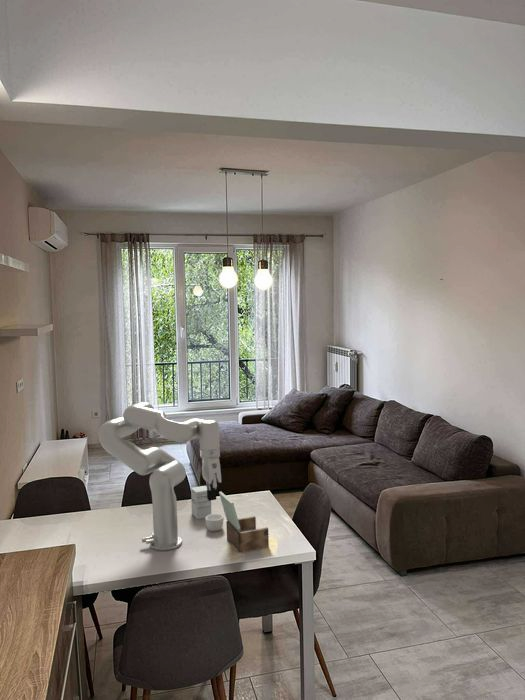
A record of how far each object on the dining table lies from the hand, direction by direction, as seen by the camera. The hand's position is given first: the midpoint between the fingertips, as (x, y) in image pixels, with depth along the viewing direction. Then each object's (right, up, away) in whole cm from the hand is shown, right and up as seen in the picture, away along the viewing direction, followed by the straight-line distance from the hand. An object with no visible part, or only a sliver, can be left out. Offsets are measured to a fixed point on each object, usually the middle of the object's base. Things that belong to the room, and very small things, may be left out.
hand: (211, 499), depth 212 cm
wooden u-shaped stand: (+14, -20, +8) cm, 25 cm away
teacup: (-1, -19, +24) cm, 31 cm away
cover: (+7, -6, +5) cm, 10 cm away
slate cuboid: (+13, -20, +10) cm, 26 cm away
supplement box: (-8, -18, +39) cm, 44 cm away
